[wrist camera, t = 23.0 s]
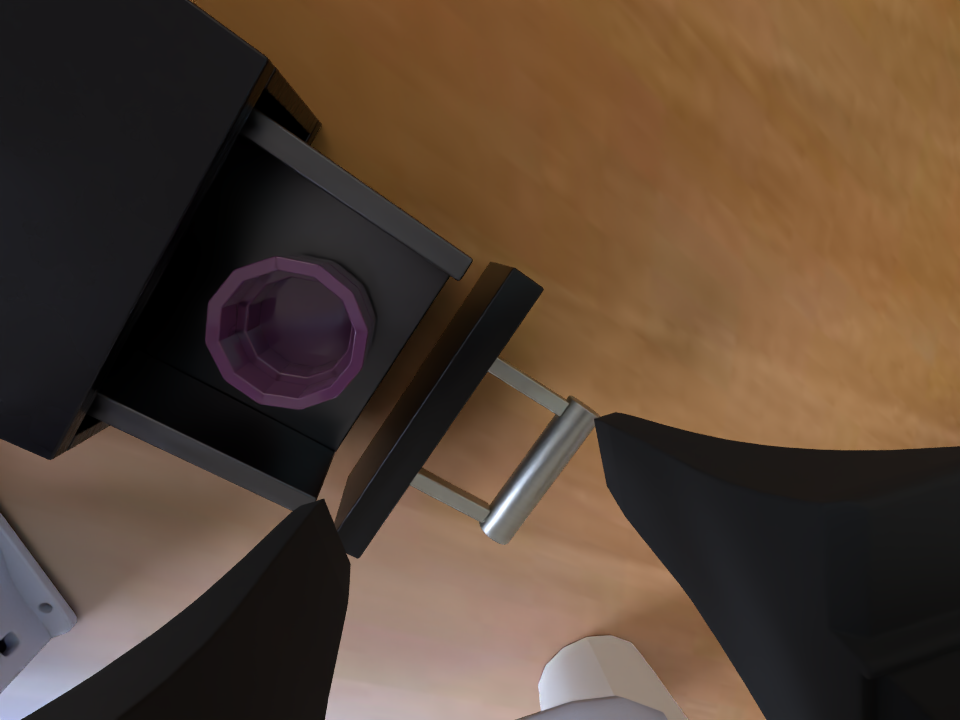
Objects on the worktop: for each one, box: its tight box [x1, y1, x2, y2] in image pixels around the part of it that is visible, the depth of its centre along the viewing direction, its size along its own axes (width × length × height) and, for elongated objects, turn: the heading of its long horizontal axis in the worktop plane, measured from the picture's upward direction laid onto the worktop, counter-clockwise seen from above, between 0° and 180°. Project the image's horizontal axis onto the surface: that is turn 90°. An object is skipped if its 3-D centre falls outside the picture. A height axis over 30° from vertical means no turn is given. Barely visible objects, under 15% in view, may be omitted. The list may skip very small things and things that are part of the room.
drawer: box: [86, 107, 600, 558], centre depth 16 cm, size 17×11×5 cm, turn 56°
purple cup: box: [205, 254, 376, 410], centre depth 15 cm, size 5×5×3 cm
